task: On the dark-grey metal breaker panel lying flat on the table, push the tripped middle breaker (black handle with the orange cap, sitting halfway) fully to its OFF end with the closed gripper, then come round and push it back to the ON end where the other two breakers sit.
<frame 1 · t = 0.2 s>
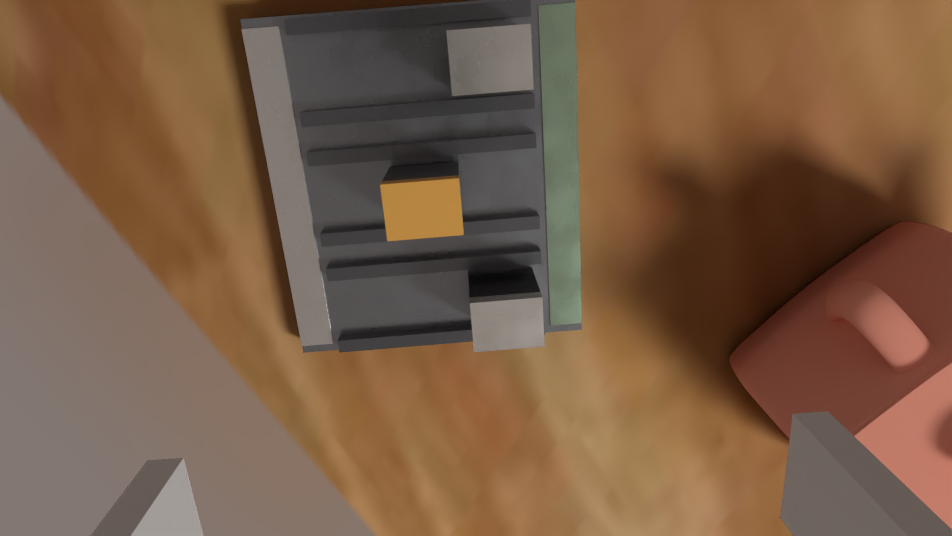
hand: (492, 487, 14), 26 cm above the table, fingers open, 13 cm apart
panel: (427, 183, 38), on the table
tripped breaker: (424, 199, 34), point 4 cm above the table, slide at 0.0 cm
teapot: (881, 319, 42), on the table
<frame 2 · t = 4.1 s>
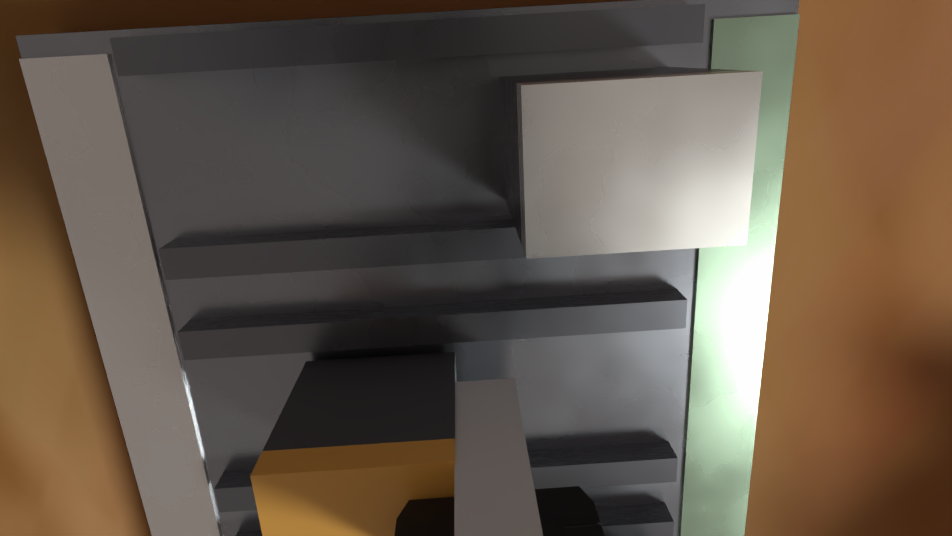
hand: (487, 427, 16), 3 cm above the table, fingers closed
panel: (443, 370, 19), on the table
tripped breaker: (375, 458, 15), point 4 cm above the table, slide at -1.6 cm, touching gripper
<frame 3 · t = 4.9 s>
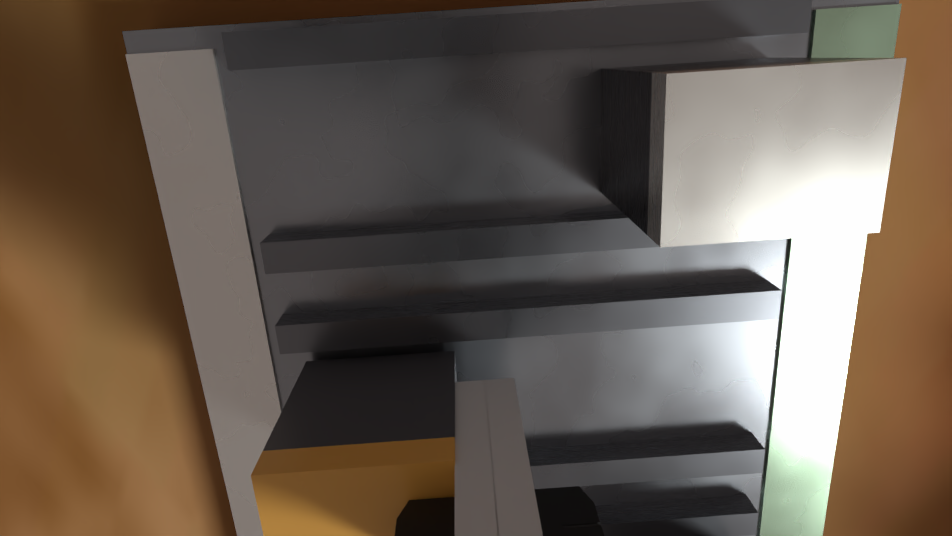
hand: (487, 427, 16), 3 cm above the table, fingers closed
panel: (523, 363, 19), on the table
tripped breaker: (376, 457, 15), point 4 cm above the table, slide at -4.0 cm, touching gripper
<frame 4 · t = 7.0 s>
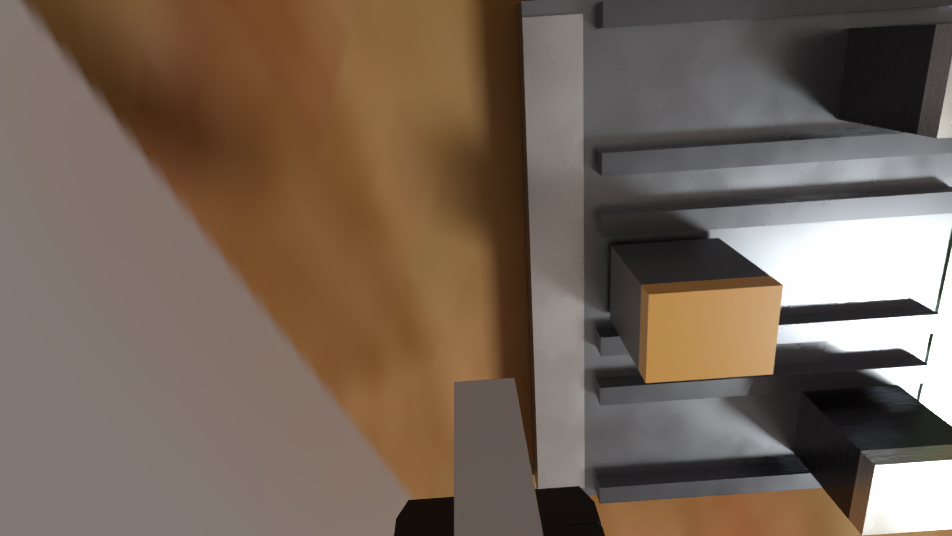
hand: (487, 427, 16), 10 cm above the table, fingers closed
panel: (748, 256, 25), on the table
tripped breaker: (685, 304, 21), point 4 cm above the table, slide at -4.0 cm
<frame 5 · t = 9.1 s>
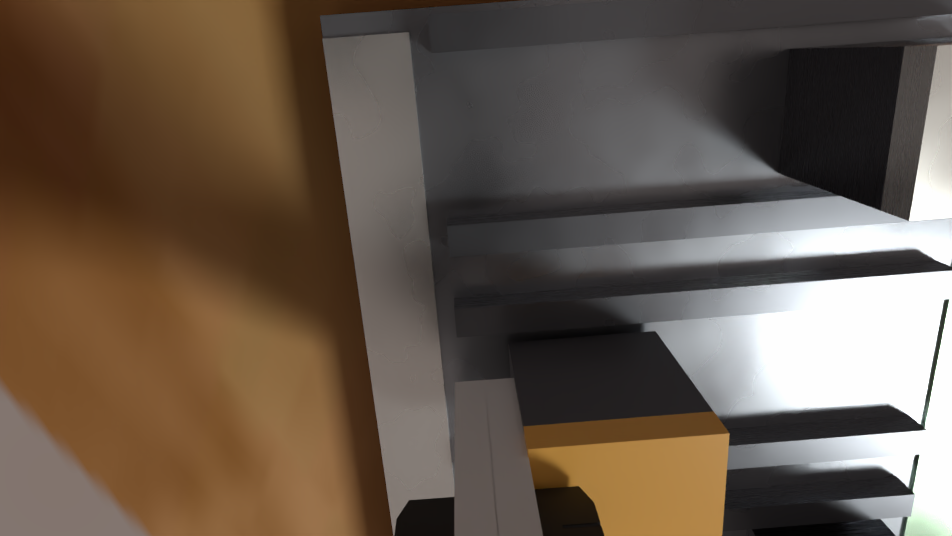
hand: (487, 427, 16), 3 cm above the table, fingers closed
panel: (673, 347, 19), on the table
tripped breaker: (601, 435, 15), point 4 cm above the table, slide at -3.1 cm, touching gripper
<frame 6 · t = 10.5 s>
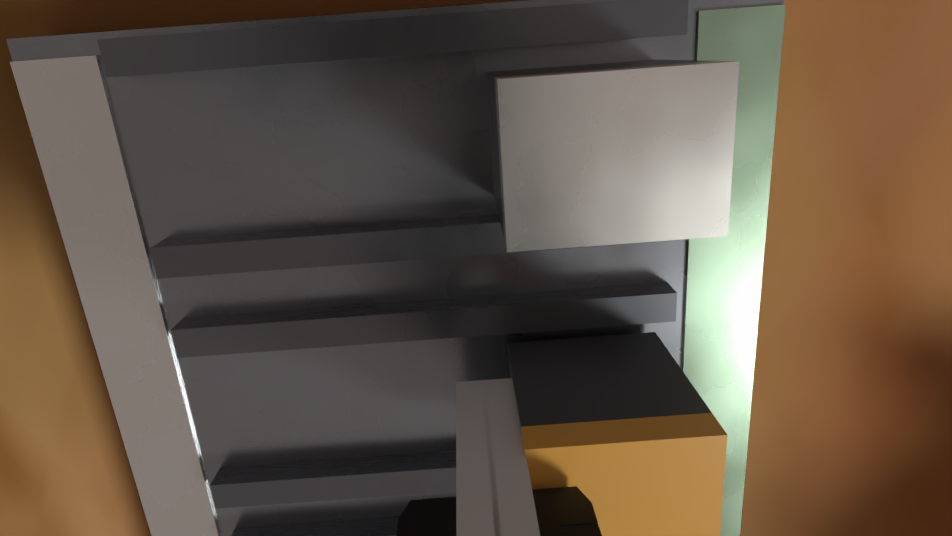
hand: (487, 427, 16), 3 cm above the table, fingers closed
panel: (436, 366, 19), on the table
tripped breaker: (600, 436, 15), point 4 cm above the table, slide at 4.1 cm, touching gripper
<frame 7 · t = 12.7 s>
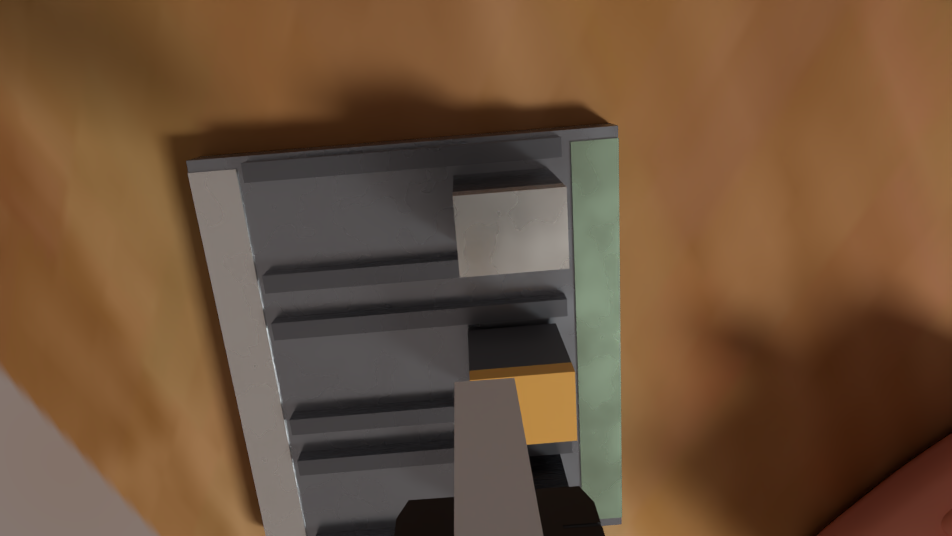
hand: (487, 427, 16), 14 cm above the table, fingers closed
panel: (428, 347, 30), on the table
tripped breaker: (518, 381, 26), point 4 cm above the table, slide at 4.0 cm
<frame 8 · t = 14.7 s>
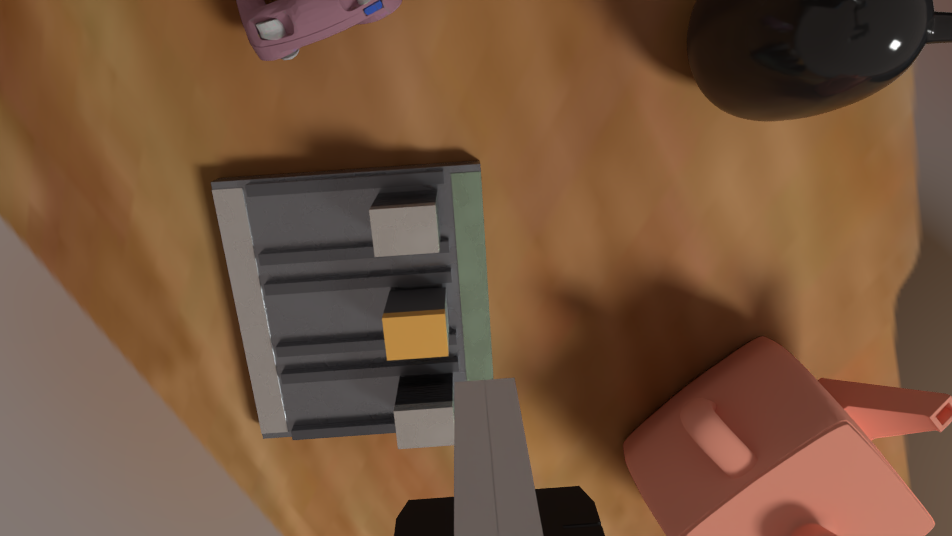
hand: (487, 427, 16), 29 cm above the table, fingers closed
panel: (366, 303, 46), on the table
tripped breaker: (417, 322, 42), point 4 cm above the table, slide at 4.0 cm
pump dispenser: (744, 35, 41), on the table
teapot: (752, 411, 51), on the table
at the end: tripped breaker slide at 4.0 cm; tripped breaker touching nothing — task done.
